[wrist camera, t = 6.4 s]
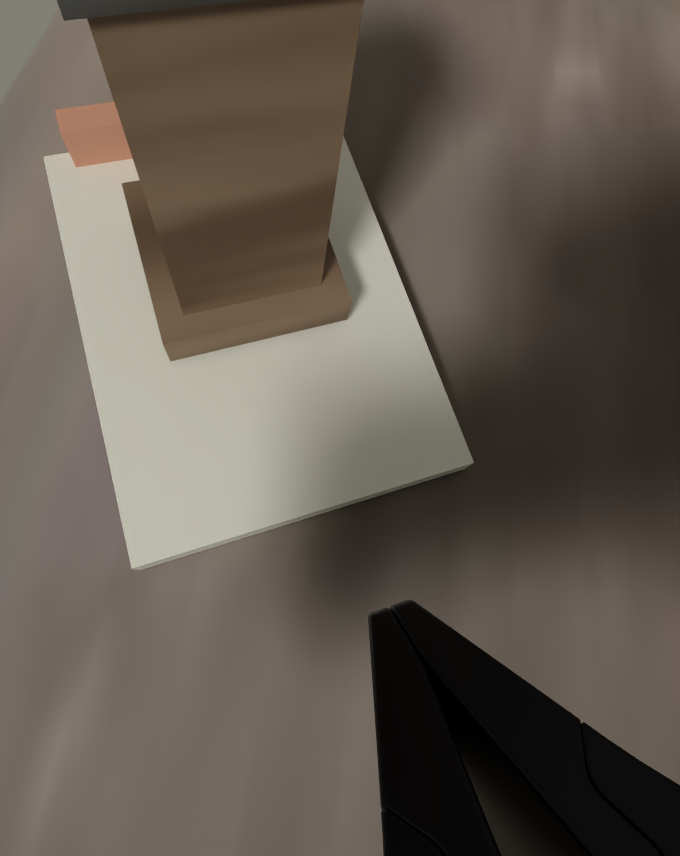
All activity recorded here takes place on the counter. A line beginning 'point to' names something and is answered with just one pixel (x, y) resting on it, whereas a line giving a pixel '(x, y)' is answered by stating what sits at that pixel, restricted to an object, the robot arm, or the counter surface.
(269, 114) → the brown wooden pedestal
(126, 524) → the thin white base plate
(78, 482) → the counter surface
